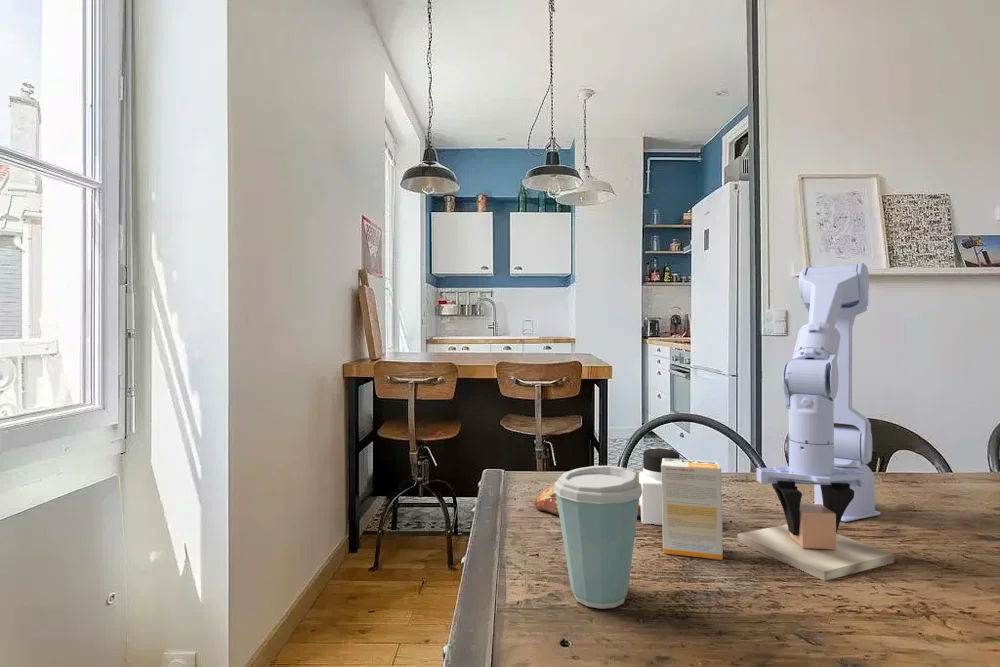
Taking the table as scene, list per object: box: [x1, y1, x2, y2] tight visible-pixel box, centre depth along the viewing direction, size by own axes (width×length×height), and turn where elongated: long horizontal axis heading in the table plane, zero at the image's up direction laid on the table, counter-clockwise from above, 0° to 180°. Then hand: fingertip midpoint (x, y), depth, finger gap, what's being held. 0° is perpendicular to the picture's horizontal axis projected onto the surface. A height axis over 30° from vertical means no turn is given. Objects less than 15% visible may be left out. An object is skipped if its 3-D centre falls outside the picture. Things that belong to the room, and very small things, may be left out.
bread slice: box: [534, 484, 641, 518], centre depth 96 cm, size 18×18×4 cm
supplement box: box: [661, 458, 724, 561], centre depth 77 cm, size 8×5×13 cm, turn 71°
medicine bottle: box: [638, 447, 681, 526], centre depth 91 cm, size 7×7×12 cm
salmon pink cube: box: [790, 502, 836, 550], centre depth 76 cm, size 4×4×5 cm
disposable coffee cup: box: [553, 465, 642, 610], centre depth 64 cm, size 11×11×15 cm
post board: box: [737, 523, 895, 582], centre depth 76 cm, size 14×14×4 cm
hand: (811, 533), depth 76 cm, fingers closed on salmon pink cube, 4 cm apart
